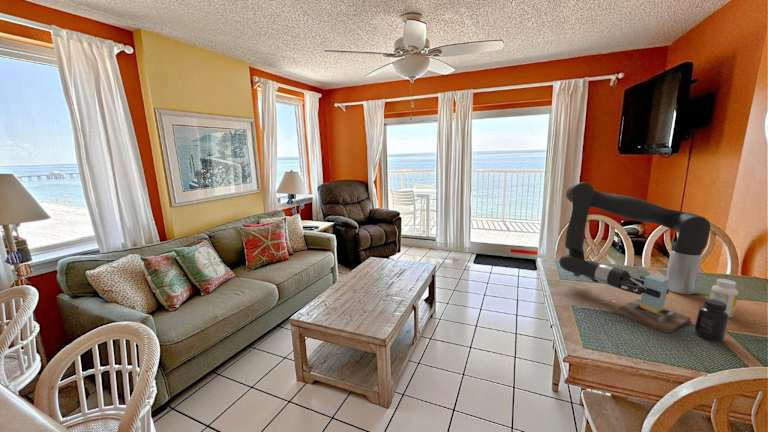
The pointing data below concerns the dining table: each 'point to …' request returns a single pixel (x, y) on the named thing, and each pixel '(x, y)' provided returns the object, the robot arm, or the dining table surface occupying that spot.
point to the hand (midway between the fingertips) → (663, 293)
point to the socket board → (653, 317)
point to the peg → (658, 285)
